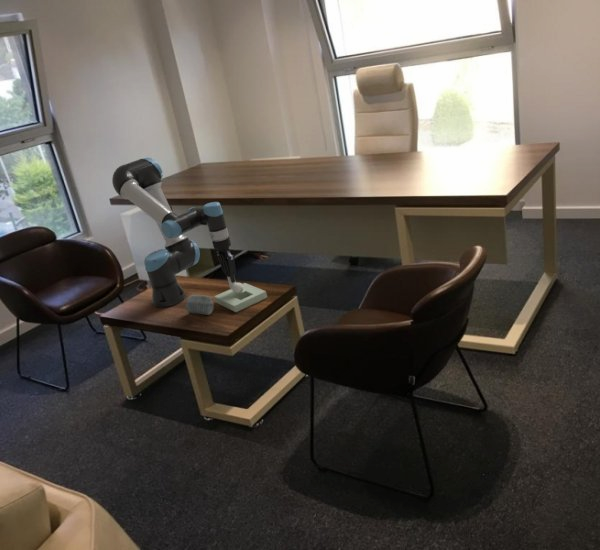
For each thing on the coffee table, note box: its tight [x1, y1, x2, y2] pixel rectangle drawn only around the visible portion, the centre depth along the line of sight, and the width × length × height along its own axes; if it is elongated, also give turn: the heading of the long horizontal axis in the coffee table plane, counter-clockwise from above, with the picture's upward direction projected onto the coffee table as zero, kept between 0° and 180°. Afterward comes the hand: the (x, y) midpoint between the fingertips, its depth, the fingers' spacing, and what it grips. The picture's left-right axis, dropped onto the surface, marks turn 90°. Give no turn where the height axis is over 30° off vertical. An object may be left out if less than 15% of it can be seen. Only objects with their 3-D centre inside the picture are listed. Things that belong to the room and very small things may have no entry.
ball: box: [232, 282, 244, 294], centre depth 257 cm, size 5×5×5 cm
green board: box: [214, 282, 268, 313], centre depth 258 cm, size 18×16×3 cm
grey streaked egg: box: [185, 294, 215, 316], centre depth 253 cm, size 14×10×10 cm
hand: (233, 288), depth 261 cm, fingers closed
